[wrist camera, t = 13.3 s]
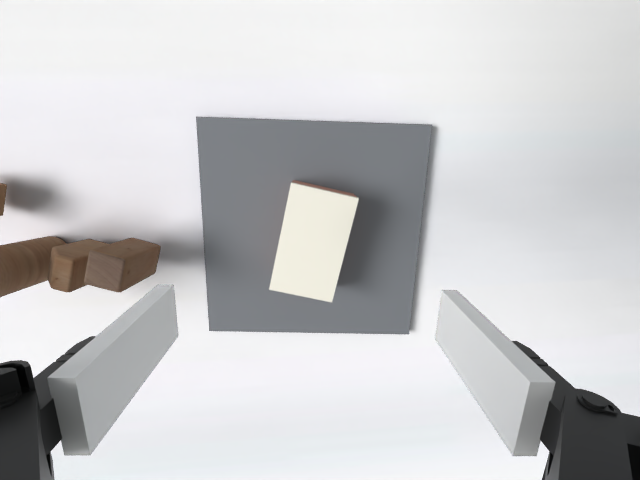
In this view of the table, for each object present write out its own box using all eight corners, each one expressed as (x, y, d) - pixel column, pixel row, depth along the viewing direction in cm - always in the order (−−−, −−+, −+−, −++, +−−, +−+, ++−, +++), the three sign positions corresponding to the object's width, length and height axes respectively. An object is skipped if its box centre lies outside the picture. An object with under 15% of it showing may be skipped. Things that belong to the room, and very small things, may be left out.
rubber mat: (199, 117, 30) (196, 116, 29) (429, 125, 31) (432, 124, 30) (211, 327, 36) (209, 330, 35) (406, 330, 36) (409, 334, 35)
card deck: (274, 274, 33) (268, 289, 29) (293, 179, 31) (290, 182, 27) (329, 286, 34) (332, 302, 30) (353, 193, 31) (358, 198, 28)
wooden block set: (173, 225, 33) (111, 243, 23) (156, 302, 34) (90, 351, 24) (-7, 176, 32) (-158, 171, 21) (-17, 258, 33) (-163, 290, 23)
